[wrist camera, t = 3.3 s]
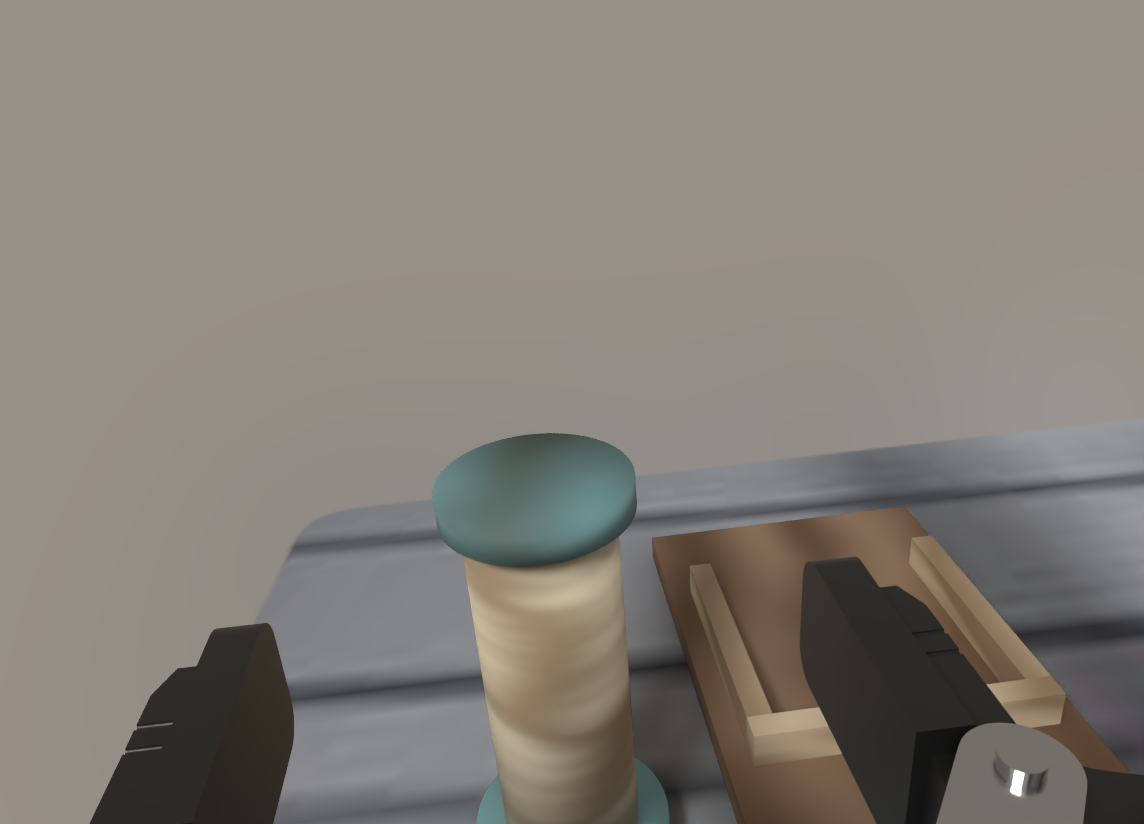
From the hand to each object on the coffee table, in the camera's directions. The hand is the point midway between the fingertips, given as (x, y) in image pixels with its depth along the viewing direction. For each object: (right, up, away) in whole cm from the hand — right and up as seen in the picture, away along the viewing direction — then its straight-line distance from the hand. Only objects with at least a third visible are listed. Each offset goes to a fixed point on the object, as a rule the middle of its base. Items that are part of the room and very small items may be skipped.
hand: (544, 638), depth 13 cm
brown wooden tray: (+13, -8, +26) cm, 30 cm away
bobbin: (0, -12, +19) cm, 23 cm away
